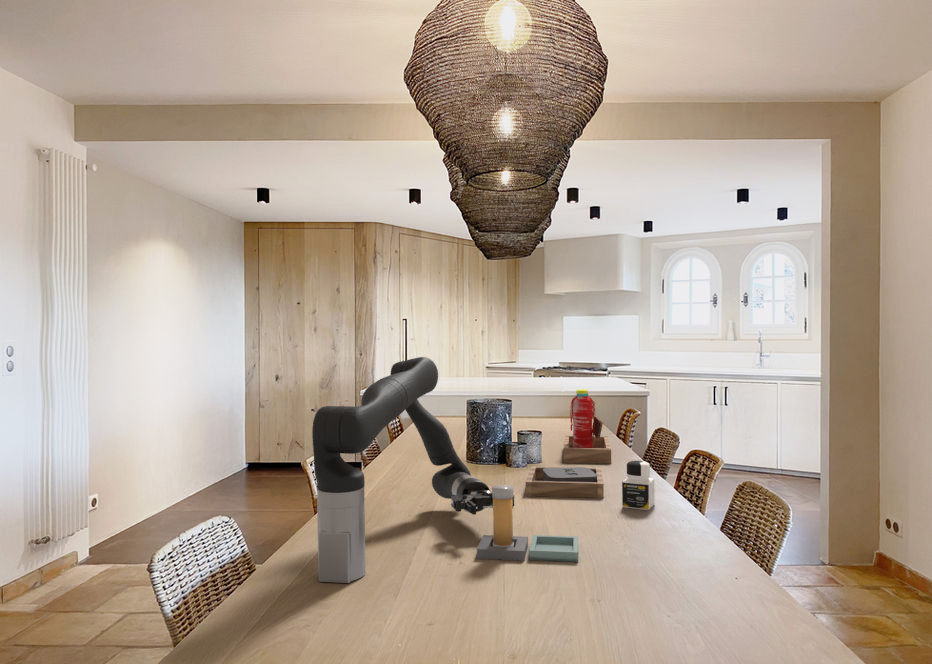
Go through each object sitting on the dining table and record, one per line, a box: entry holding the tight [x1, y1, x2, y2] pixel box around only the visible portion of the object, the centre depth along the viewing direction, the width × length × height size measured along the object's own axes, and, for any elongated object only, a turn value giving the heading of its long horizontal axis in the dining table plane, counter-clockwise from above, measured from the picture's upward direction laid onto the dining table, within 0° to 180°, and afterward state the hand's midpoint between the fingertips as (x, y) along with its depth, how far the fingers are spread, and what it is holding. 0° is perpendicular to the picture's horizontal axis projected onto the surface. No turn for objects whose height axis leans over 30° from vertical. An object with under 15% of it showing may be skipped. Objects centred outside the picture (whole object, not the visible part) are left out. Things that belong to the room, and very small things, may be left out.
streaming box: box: [543, 466, 597, 482], centre depth 207 cm, size 14×14×5 cm
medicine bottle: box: [621, 460, 656, 511], centre depth 186 cm, size 7×7×12 cm
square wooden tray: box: [525, 466, 605, 499], centre depth 208 cm, size 22×22×4 cm
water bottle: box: [569, 388, 604, 448], centre depth 261 cm, size 12×8×25 cm, turn 80°
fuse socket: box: [476, 534, 529, 561], centre depth 149 cm, size 10×10×2 cm
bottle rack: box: [562, 435, 612, 464], centre depth 261 cm, size 30×17×5 cm, turn 171°
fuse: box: [491, 484, 514, 547], centre depth 149 cm, size 5×5×14 cm
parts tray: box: [529, 534, 579, 563], centre depth 148 cm, size 11×10×2 cm
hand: (492, 508), depth 155 cm, fingers open, 8 cm apart
